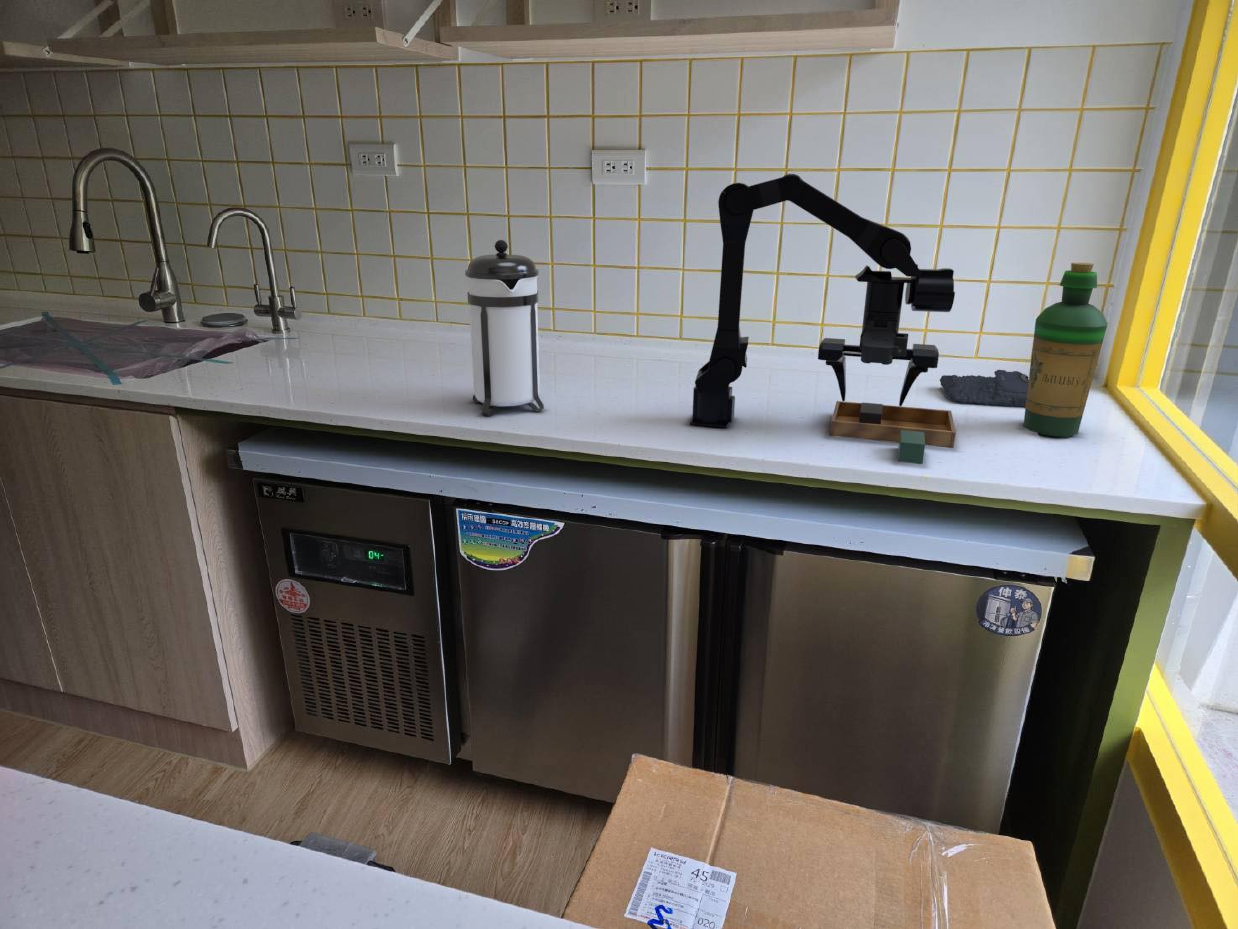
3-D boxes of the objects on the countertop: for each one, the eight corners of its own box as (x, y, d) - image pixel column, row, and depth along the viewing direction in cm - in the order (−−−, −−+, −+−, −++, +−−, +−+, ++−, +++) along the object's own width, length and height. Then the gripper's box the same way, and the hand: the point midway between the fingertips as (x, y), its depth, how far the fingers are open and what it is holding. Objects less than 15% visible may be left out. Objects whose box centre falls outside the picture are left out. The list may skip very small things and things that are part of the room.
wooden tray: (829, 438, 136) (831, 420, 135) (835, 416, 147) (836, 400, 146) (953, 450, 130) (955, 432, 129) (948, 427, 142) (951, 410, 141)
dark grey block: (857, 432, 137) (859, 412, 136) (859, 421, 143) (861, 402, 142) (879, 434, 136) (882, 414, 135) (880, 423, 142) (882, 404, 141)
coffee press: (566, 401, 156) (564, 238, 145) (515, 422, 143) (508, 244, 132) (494, 389, 164) (487, 234, 154) (440, 408, 151) (428, 240, 141)
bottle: (1005, 430, 140) (1035, 263, 131) (1029, 418, 147) (1059, 258, 138) (1072, 444, 133) (1108, 268, 124) (1094, 431, 140) (1129, 263, 131)
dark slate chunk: (933, 384, 170) (936, 361, 169) (1045, 389, 167) (1050, 366, 165) (947, 403, 156) (951, 379, 155) (1071, 410, 153) (1076, 385, 151)
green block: (897, 464, 124) (900, 442, 123) (897, 450, 130) (900, 429, 128) (922, 466, 123) (925, 444, 122) (921, 453, 129) (924, 432, 127)
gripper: (819, 314, 128) (810, 410, 134) (946, 321, 123) (932, 421, 128) (825, 304, 138) (816, 393, 143) (942, 310, 133) (929, 403, 138)
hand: (871, 403), depth 138 cm, fingers open, 9 cm apart
